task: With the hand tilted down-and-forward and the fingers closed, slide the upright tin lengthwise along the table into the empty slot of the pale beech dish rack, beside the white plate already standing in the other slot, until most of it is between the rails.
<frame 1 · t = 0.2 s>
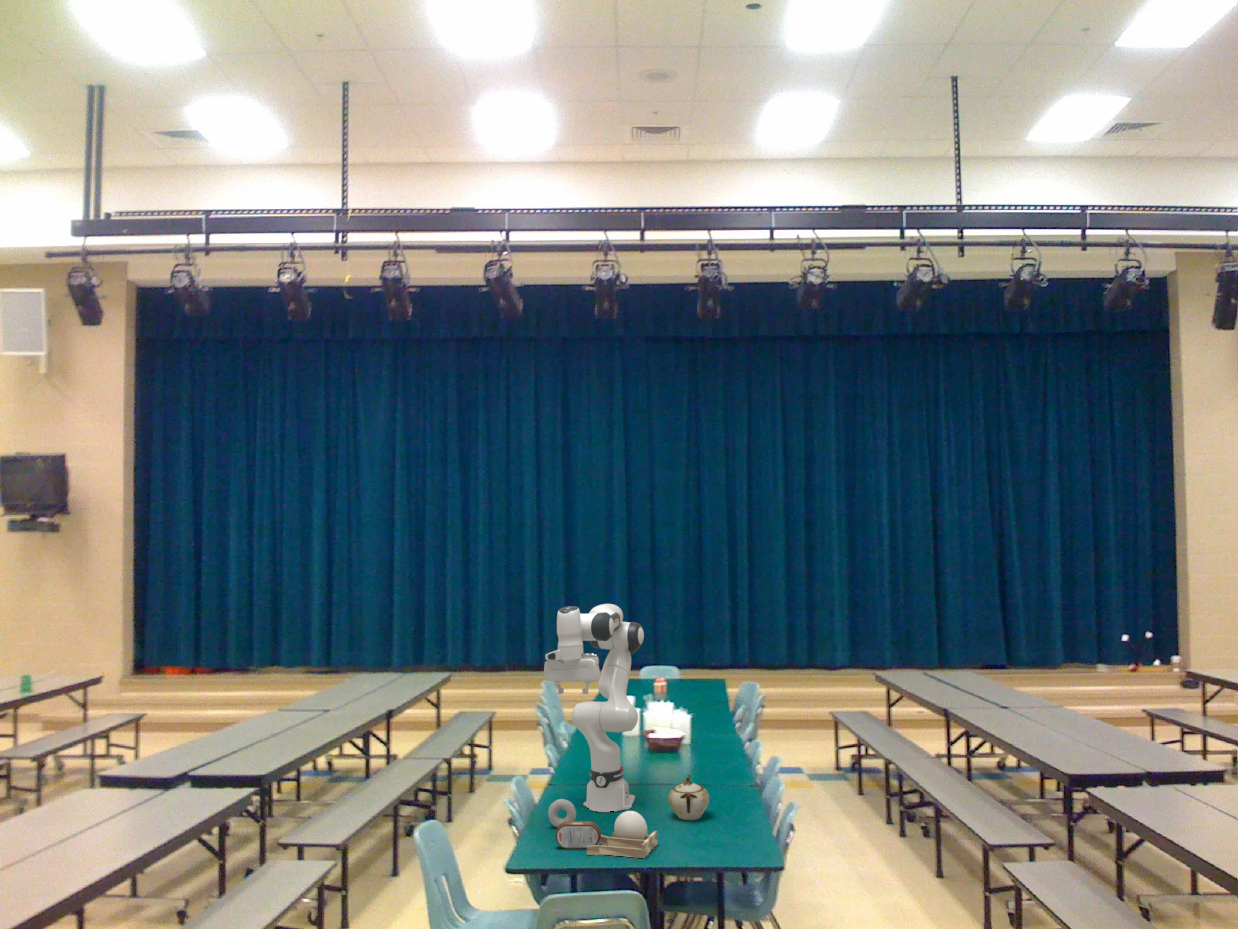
hand: (573, 693, 331), 48 cm above the table, tool pointing down, fingers open, 8 cm apart
rack: (624, 852, 308), on the table
donut: (562, 828, 334), on the table
tin: (578, 849, 313), on the table
sugar bowl: (689, 817, 343), on the table
racked plate: (631, 845, 314), on the table
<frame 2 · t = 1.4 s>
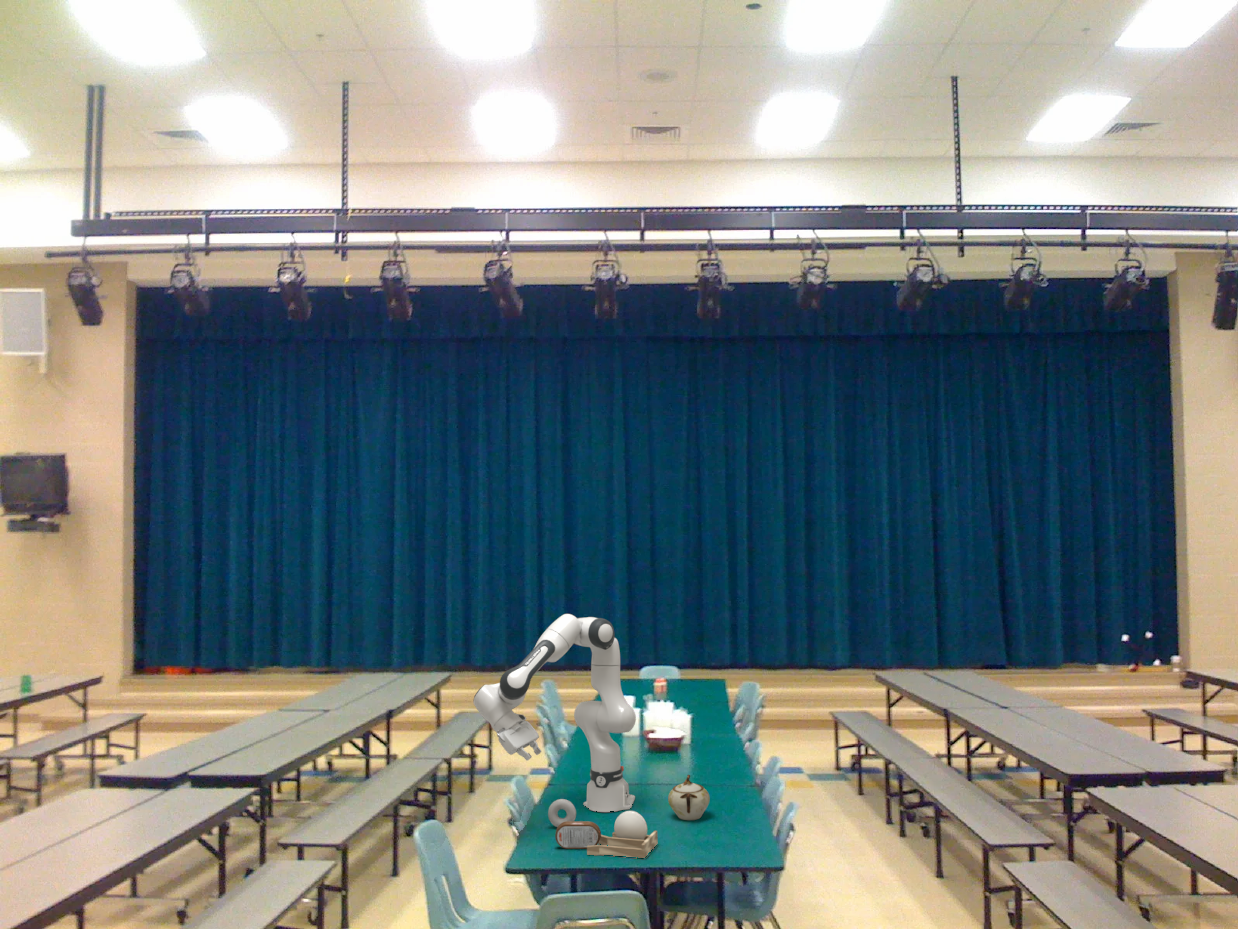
hand: (534, 756, 325), 28 cm above the table, tool tilted 45°, fingers open, 7 cm apart
nothing on the table moved.
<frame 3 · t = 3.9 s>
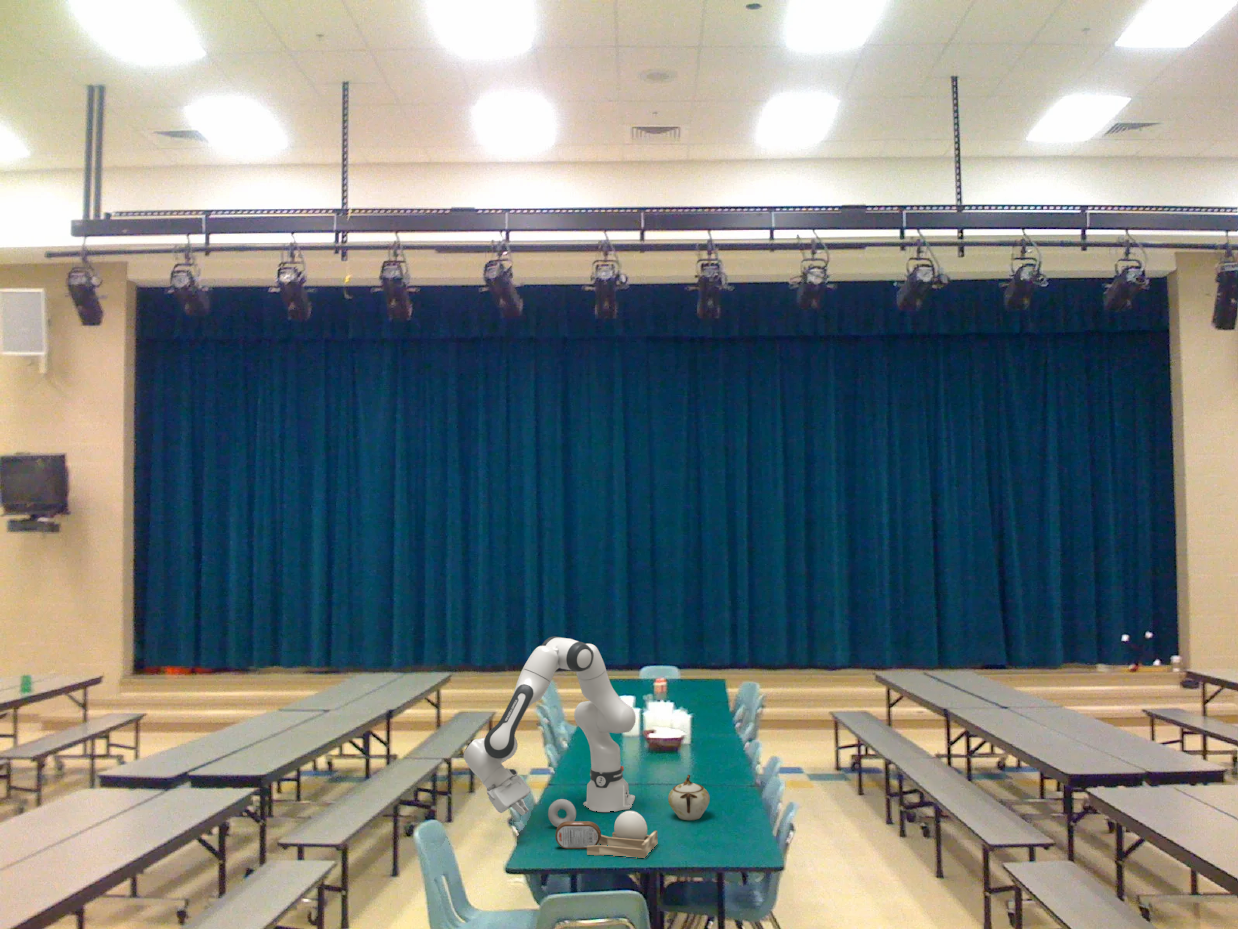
hand: (525, 813, 319), 10 cm above the table, tool tilted 45°, fingers closed
nothing on the table moved.
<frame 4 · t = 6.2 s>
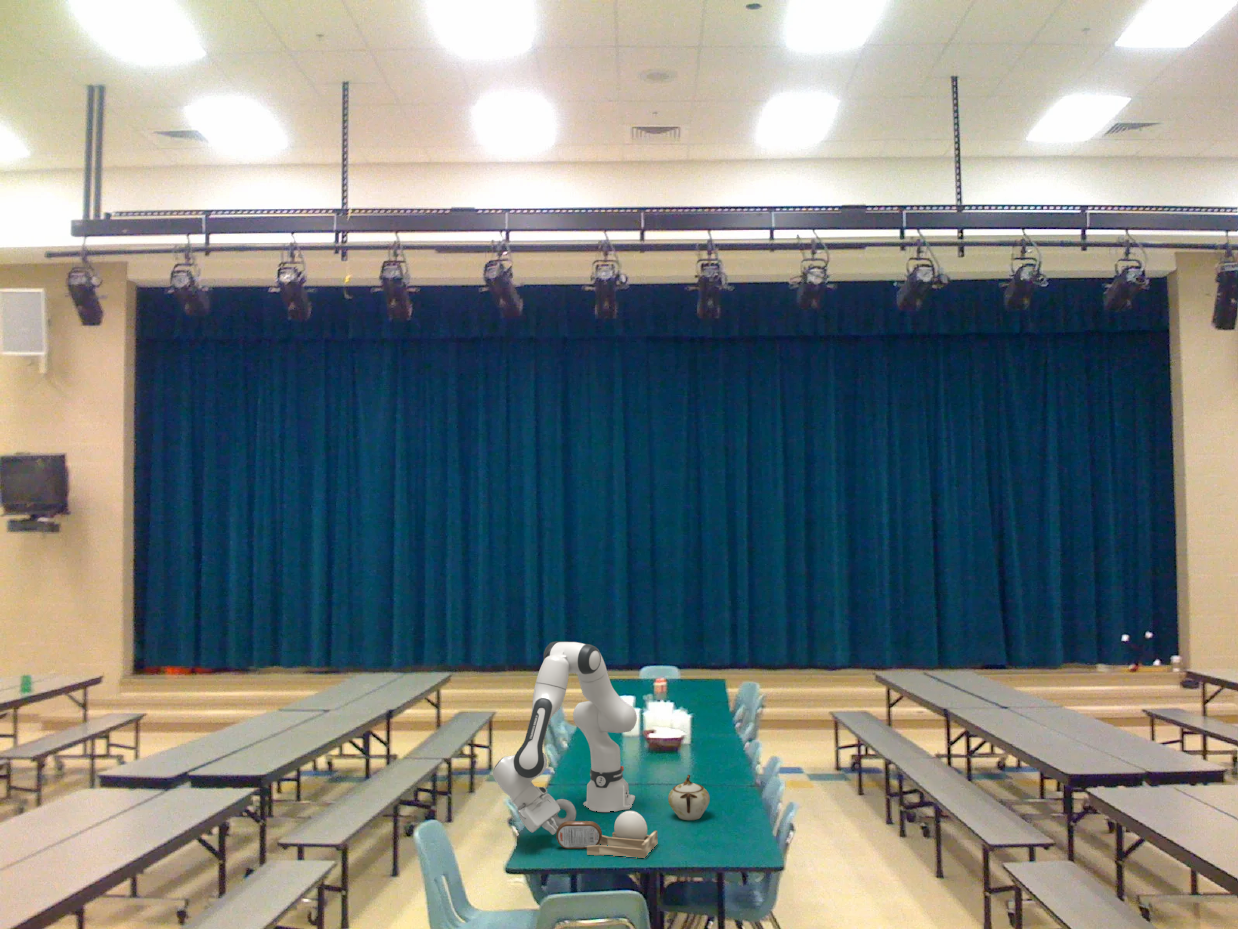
hand: (556, 832, 316), 4 cm above the table, tool tilted 45°, fingers closed
tin: (579, 848, 313), on the table, touching gripper
everything else where it was.
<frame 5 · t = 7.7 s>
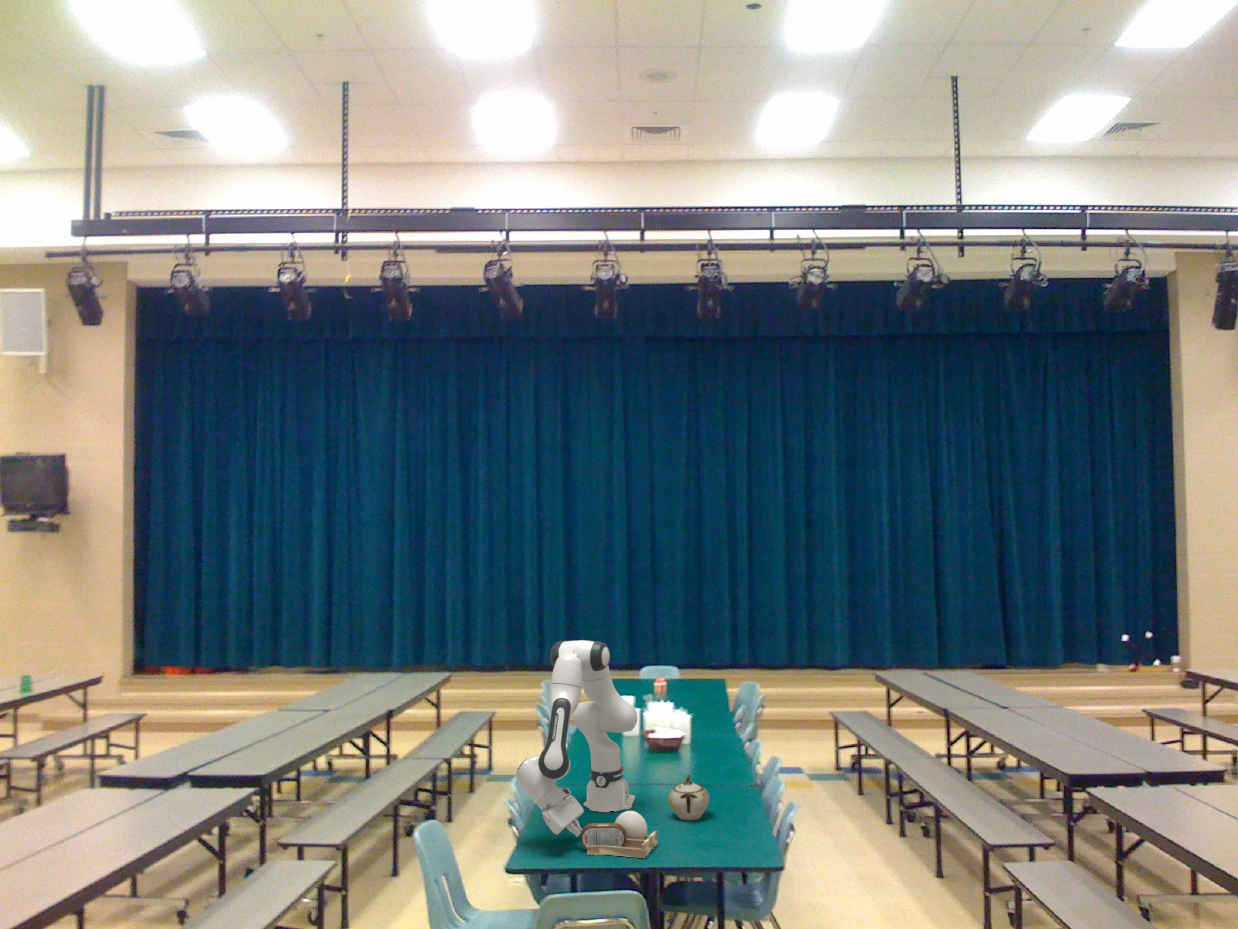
hand: (580, 834, 313), 5 cm above the table, tool tilted 45°, fingers closed
tin: (603, 851, 310), on the table, touching gripper
everything else where it was.
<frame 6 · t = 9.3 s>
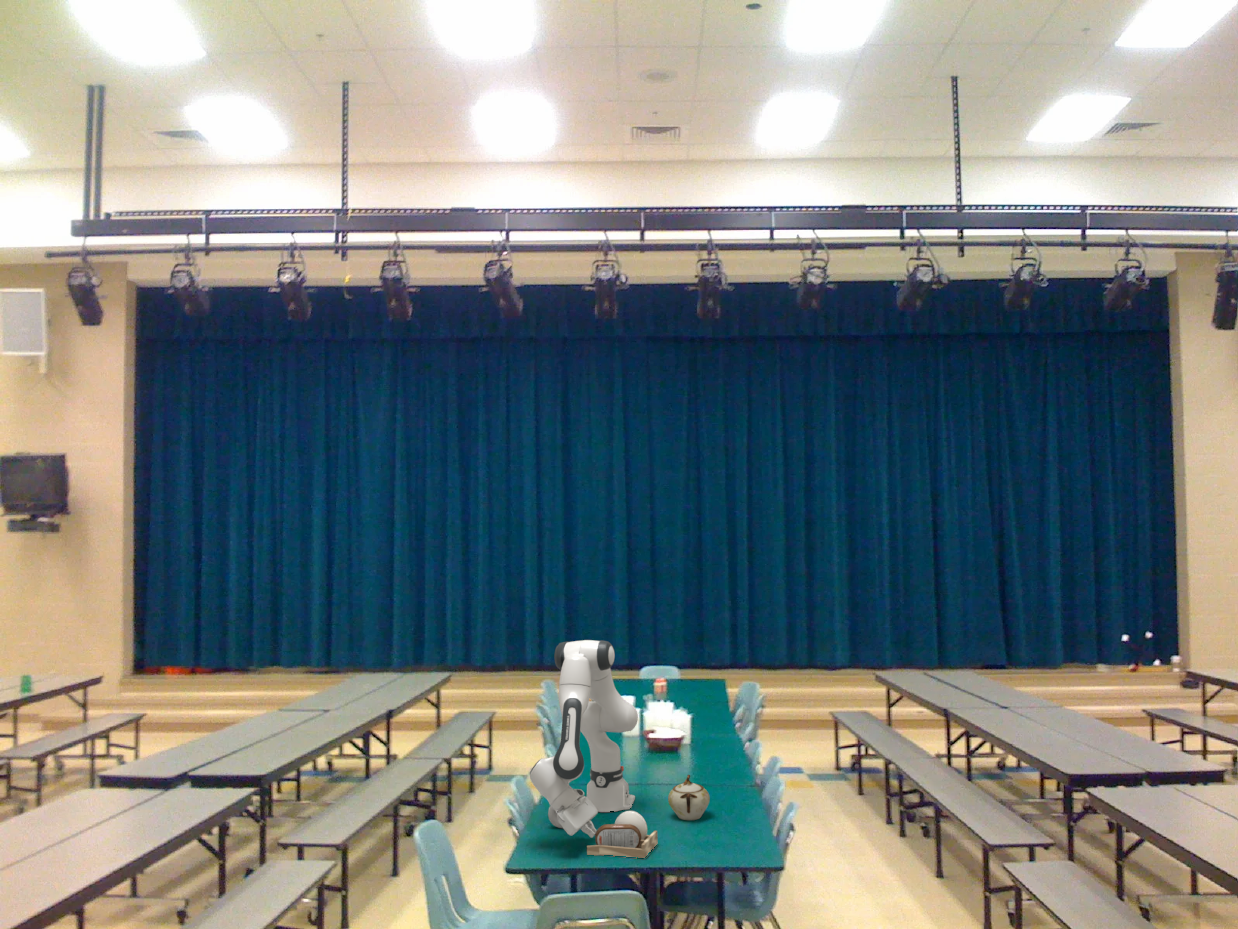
hand: (594, 835, 311), 5 cm above the table, tool tilted 45°, fingers closed
tin: (618, 852, 308), on the table, touching gripper, rack
everything else where it was.
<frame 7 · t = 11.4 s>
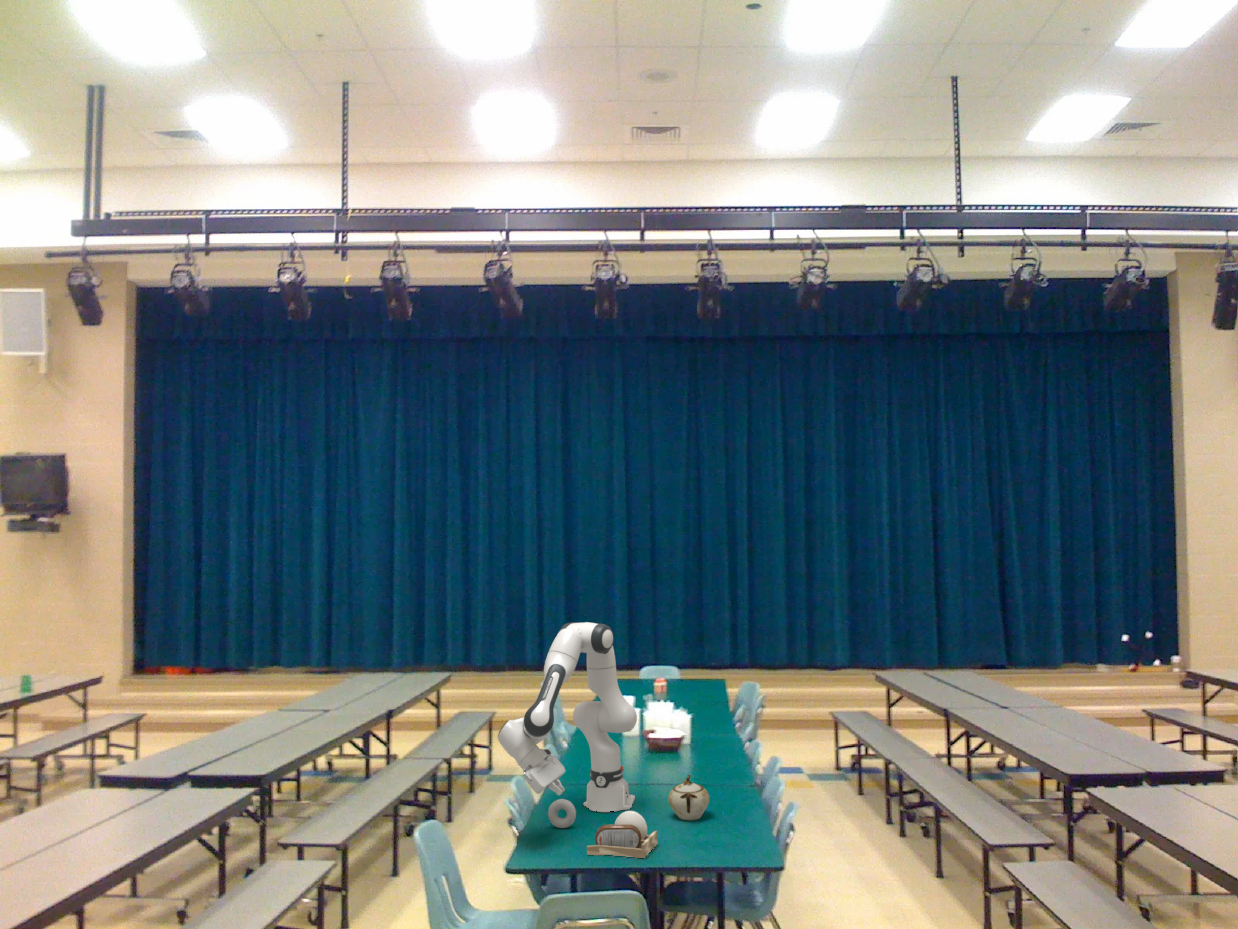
hand: (562, 793, 319), 17 cm above the table, tool tilted 45°, fingers closed
tin: (618, 852, 308), on the table
everything else where it was.
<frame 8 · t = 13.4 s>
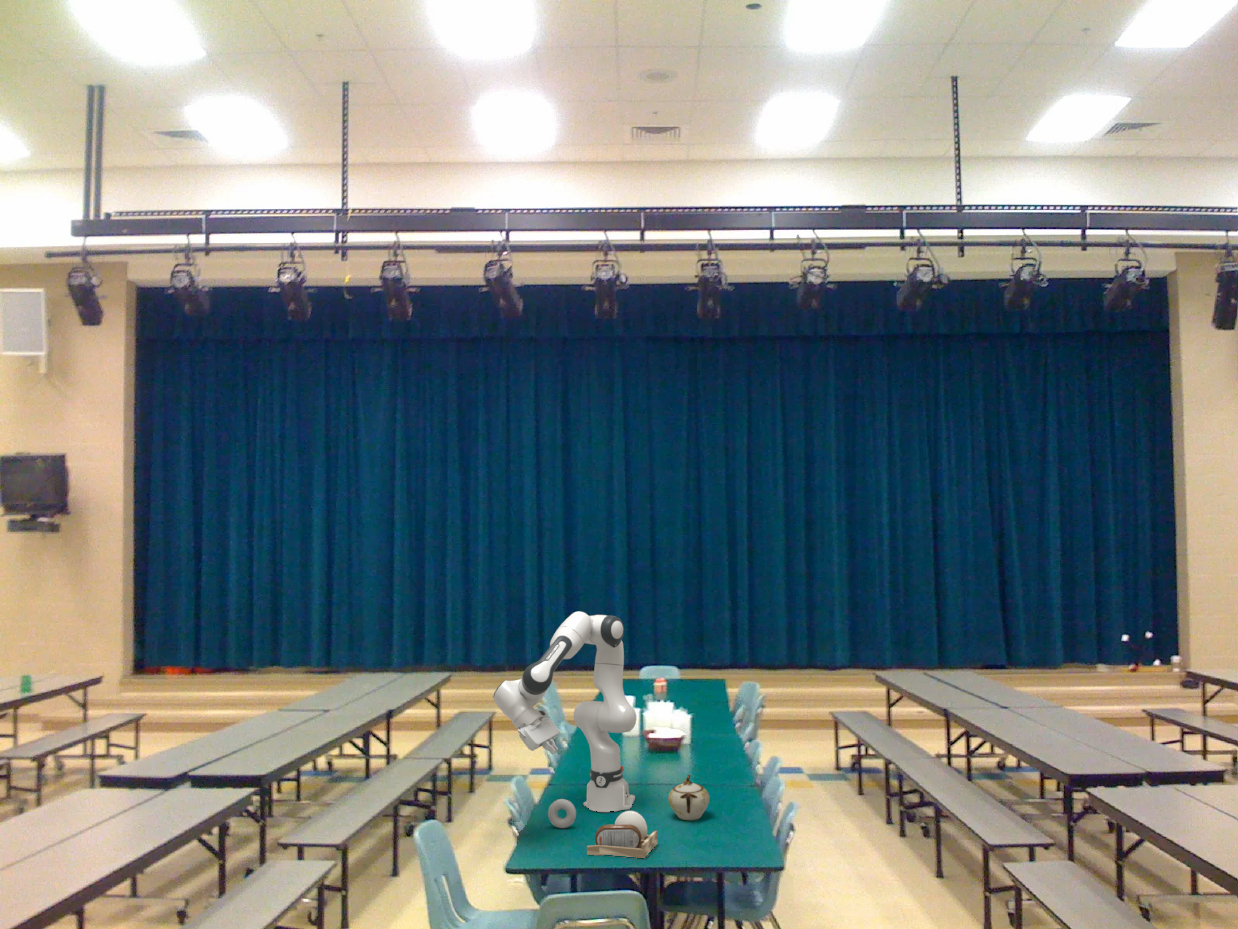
hand: (555, 752, 322), 29 cm above the table, tool tilted 45°, fingers closed
nothing on the table moved.
at the end: tin inside the target area (1.0 cm from its centre), on the table; tin tilted 0°; the gripper is holding nothing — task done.
